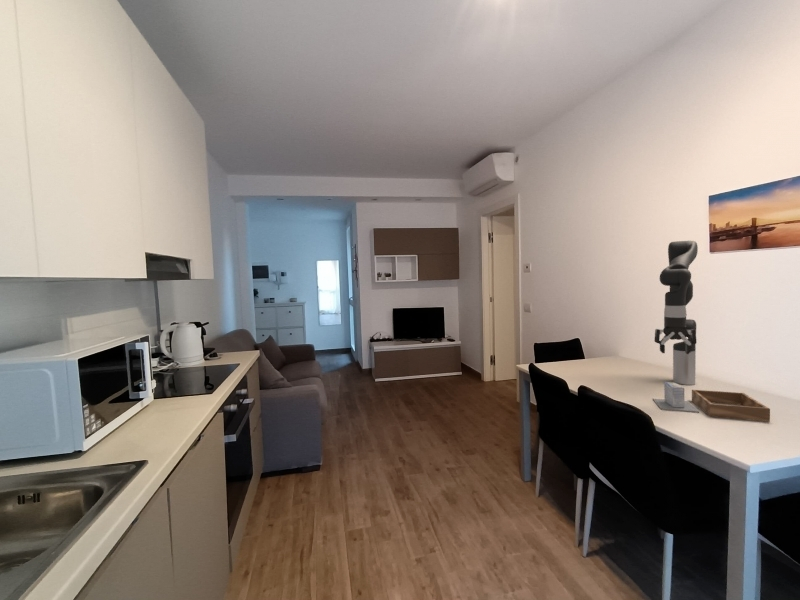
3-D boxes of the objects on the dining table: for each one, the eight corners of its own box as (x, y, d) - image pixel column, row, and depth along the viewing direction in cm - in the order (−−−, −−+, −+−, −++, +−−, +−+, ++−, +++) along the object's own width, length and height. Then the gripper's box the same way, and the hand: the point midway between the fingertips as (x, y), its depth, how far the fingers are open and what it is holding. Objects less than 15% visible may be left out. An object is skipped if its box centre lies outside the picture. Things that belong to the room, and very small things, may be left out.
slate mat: (652, 399, 164) (652, 398, 164) (687, 402, 159) (687, 401, 159) (661, 409, 152) (661, 408, 152) (699, 412, 147) (699, 411, 147)
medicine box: (684, 408, 151) (685, 387, 151) (672, 407, 153) (672, 387, 152) (675, 401, 159) (675, 382, 159) (664, 401, 160) (664, 382, 160)
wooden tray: (691, 400, 162) (691, 389, 161) (743, 404, 155) (743, 392, 154) (710, 416, 143) (710, 404, 143) (769, 421, 136) (770, 408, 136)
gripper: (692, 315, 155) (692, 352, 155) (652, 314, 160) (652, 351, 161) (699, 316, 148) (698, 355, 149) (657, 316, 153) (657, 354, 154)
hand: (674, 353), depth 155 cm, fingers open, 8 cm apart
